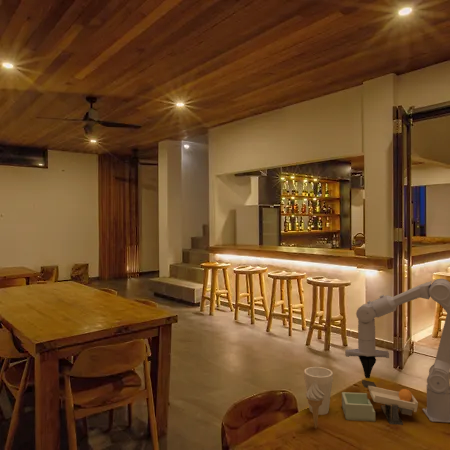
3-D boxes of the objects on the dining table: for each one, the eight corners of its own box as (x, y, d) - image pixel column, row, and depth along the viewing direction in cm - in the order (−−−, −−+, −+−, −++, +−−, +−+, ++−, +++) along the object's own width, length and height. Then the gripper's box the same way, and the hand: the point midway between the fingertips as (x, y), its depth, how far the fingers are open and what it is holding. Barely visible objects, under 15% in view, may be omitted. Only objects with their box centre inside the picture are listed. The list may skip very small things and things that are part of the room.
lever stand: (393, 407, 133) (392, 391, 133) (403, 424, 122) (402, 407, 122) (380, 407, 134) (380, 391, 134) (389, 424, 123) (389, 406, 123)
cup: (369, 408, 133) (369, 393, 133) (375, 421, 124) (375, 405, 124) (341, 406, 135) (341, 392, 135) (345, 419, 126) (345, 404, 126)
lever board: (401, 396, 138) (403, 382, 138) (415, 418, 123) (418, 402, 123) (361, 387, 141) (363, 374, 140) (370, 408, 125) (372, 393, 125)
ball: (409, 399, 129) (410, 387, 129) (413, 405, 125) (414, 392, 125) (396, 398, 129) (397, 386, 129) (400, 403, 125) (400, 391, 125)
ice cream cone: (314, 435, 117) (313, 385, 117) (302, 426, 122) (301, 378, 122) (328, 430, 120) (328, 381, 119) (316, 422, 125) (315, 375, 124)
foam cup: (334, 418, 127) (333, 378, 127) (304, 416, 129) (304, 376, 128) (332, 404, 136) (331, 367, 136) (304, 402, 138) (304, 366, 138)
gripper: (385, 335, 141) (385, 373, 141) (343, 334, 143) (344, 371, 143) (390, 342, 134) (391, 381, 134) (346, 340, 136) (347, 379, 136)
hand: (367, 377), depth 138 cm, fingers closed
